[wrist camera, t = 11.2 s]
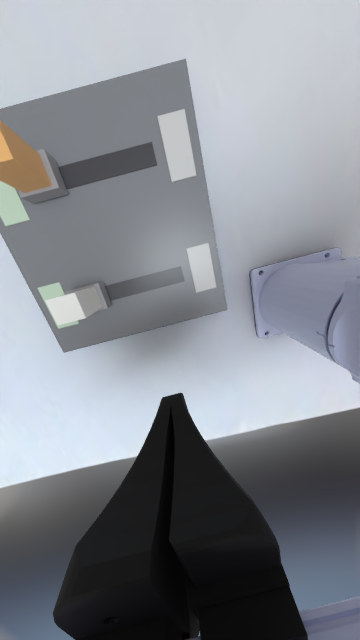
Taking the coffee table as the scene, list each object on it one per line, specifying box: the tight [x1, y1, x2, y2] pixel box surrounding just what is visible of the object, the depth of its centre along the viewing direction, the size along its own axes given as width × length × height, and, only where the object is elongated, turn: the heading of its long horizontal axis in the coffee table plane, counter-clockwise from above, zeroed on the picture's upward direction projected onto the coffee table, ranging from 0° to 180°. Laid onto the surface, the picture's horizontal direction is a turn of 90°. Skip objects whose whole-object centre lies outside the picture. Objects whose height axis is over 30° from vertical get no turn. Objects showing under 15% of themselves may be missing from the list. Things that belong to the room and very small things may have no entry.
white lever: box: [45, 282, 112, 325], centre depth 14 cm, size 3×2×4 cm
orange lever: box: [0, 120, 68, 204], centre depth 11 cm, size 3×2×4 cm
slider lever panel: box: [0, 59, 227, 352], centre depth 15 cm, size 17×18×2 cm
